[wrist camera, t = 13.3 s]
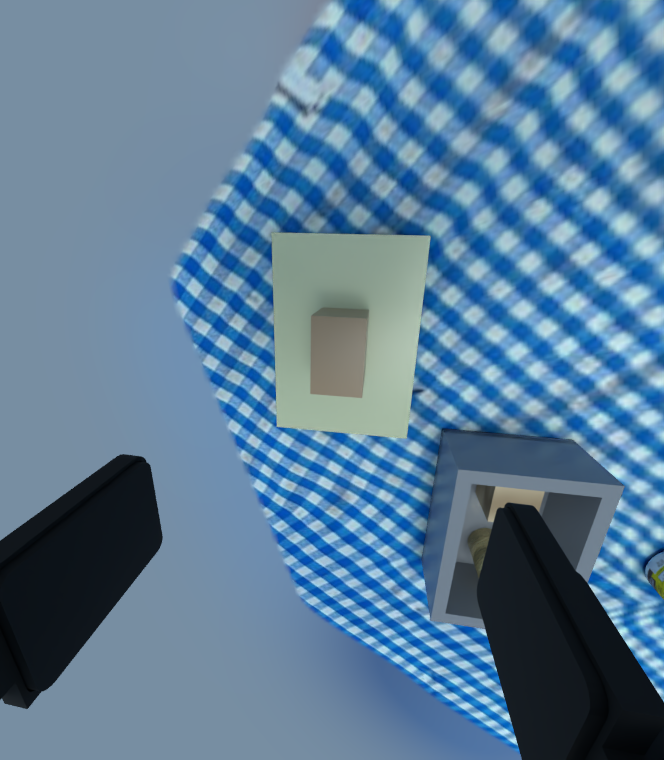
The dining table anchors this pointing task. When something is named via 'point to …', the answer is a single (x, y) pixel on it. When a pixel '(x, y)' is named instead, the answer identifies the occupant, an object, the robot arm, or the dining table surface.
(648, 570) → the supplement bottle
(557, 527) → the tub
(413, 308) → the lid
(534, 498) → the pine block
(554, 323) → the dining table surface
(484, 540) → the brass slug
